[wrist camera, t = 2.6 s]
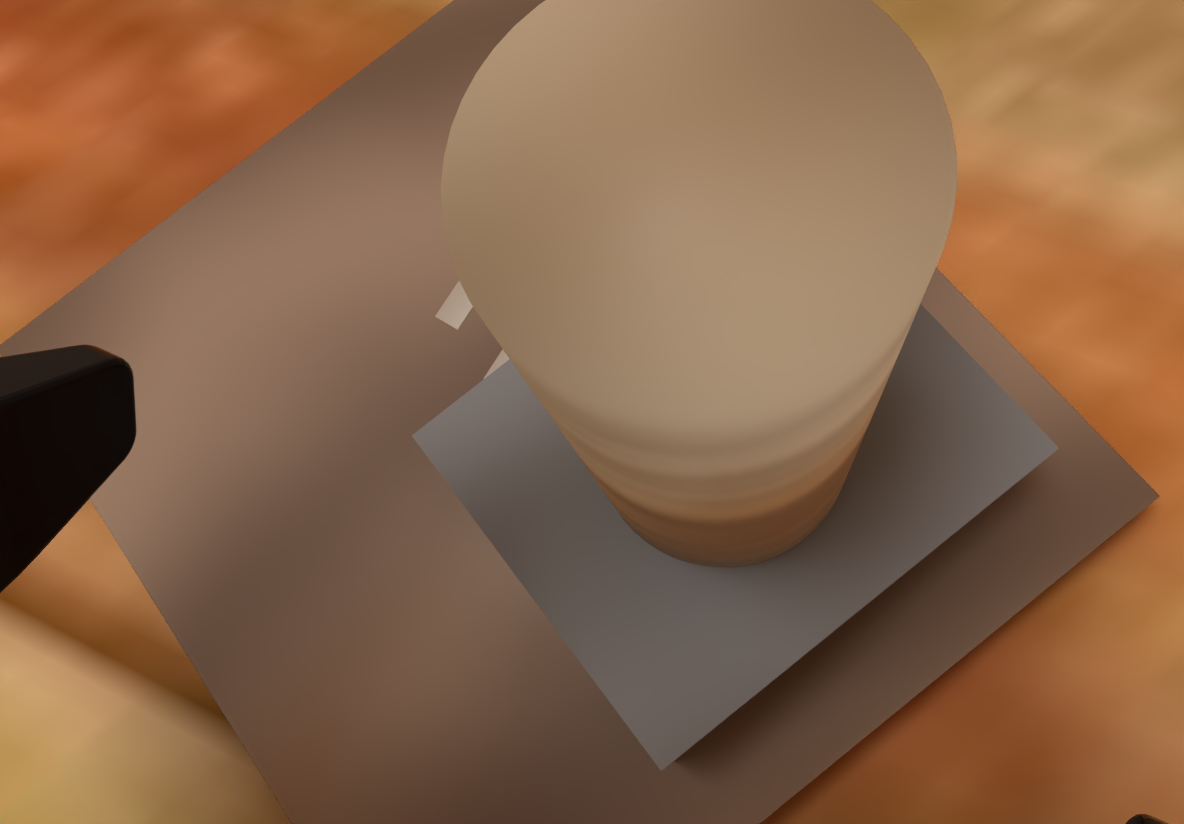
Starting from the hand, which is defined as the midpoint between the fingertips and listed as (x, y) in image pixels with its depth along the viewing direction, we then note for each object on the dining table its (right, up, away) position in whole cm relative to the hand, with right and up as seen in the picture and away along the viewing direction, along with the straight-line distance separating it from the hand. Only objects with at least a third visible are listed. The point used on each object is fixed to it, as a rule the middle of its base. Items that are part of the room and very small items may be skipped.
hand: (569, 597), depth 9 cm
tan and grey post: (+2, 0, +9) cm, 9 cm away
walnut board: (-1, +1, +11) cm, 11 cm away
